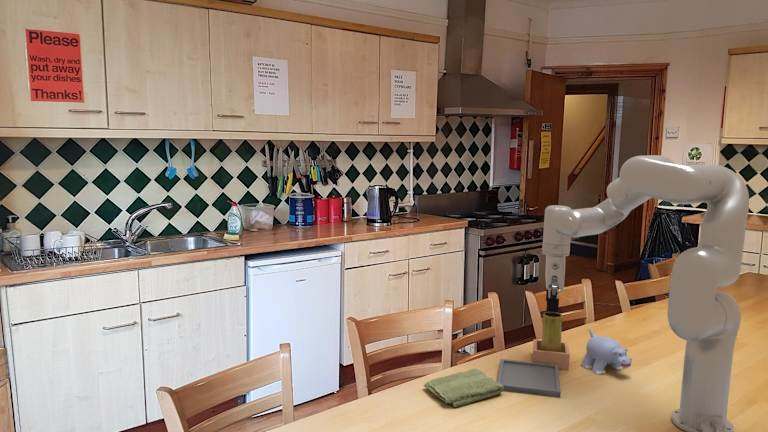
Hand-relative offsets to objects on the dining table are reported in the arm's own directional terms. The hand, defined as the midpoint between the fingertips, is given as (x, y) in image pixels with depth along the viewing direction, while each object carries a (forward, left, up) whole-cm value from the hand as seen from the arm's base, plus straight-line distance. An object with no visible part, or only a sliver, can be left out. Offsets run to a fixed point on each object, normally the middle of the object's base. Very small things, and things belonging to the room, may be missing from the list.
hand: (551, 306), depth 170 cm
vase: (0, 0, -17) cm, 17 cm away
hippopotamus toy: (-2, -16, -17) cm, 23 cm away
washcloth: (-28, +22, -17) cm, 39 cm away
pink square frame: (0, 0, -16) cm, 16 cm away
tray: (-15, +6, -16) cm, 23 cm away
